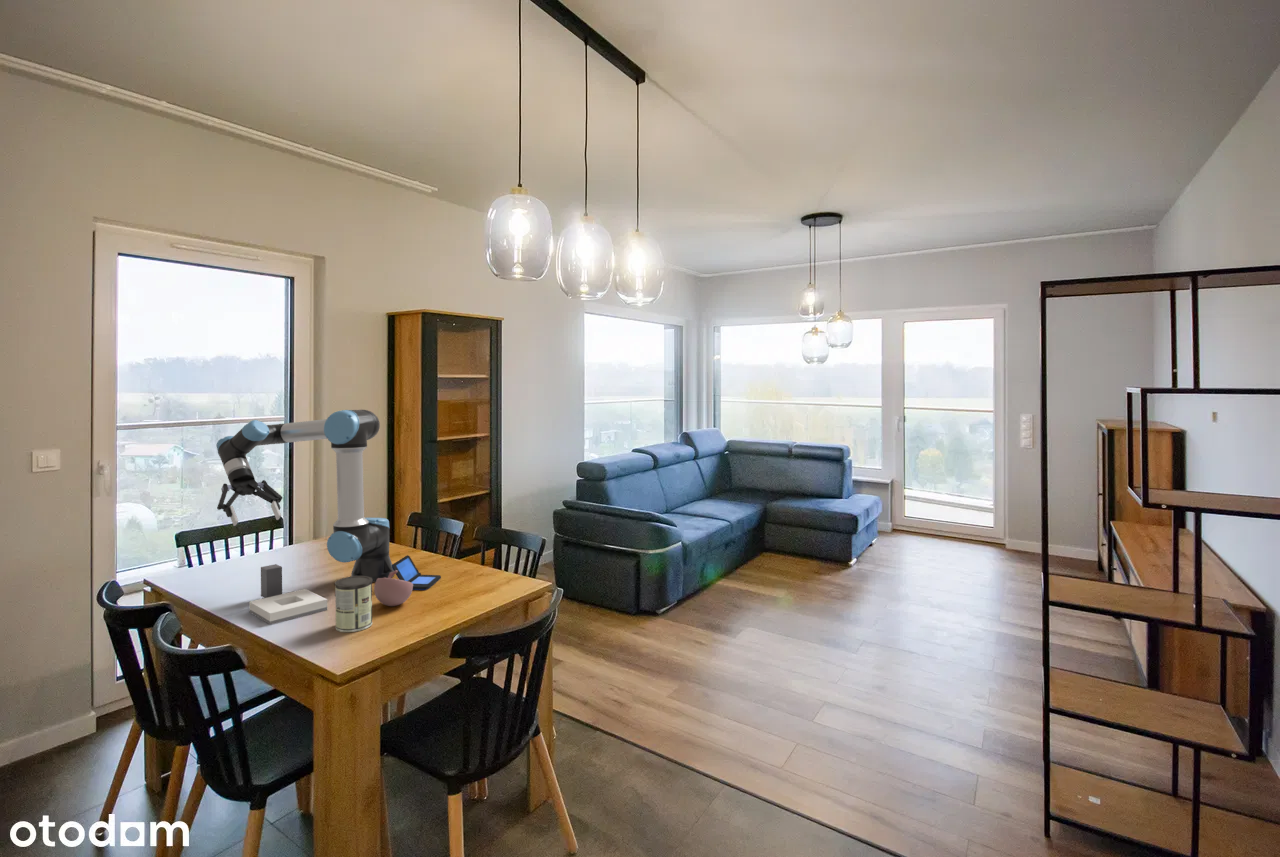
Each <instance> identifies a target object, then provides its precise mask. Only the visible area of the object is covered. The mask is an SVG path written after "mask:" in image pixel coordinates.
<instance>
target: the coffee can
mask: <svg viewBox="0 0 1280 857" xmlns="http://www.w3.org/2000/svg"><path fill="white" fill-rule="evenodd" d="M334 589H335V593H334V594H335V595H334V596H335V597H334V598H335V599H334V601H335V630H336V631H337V632H339V633H355V632H360V631H363V630H367V629H369V628H370V627H371V626H372V625H373V582H372V578H371V577H368V576H351V575H350V576H346V577H343V578H340V579H337V580H335V582H334Z"/></svg>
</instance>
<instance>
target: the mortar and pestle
mask: <svg viewBox="0 0 1280 857" xmlns="http://www.w3.org/2000/svg"><path fill="white" fill-rule="evenodd" d="M397 572H398V571H397V570H395V571H393V572H391V573H390V574H389V576H388V578H378V579H377V580H376V582H374V587H373V588H374V590H373V591H374V595H375V598H376V599H377V600H378V602H380V603H381V604H382V605H384V606H388V607H396V606H399V605H402V604H404V603H405V602H406V601H407V600H409V598H410V597H411V594H412V592H413V590H412V589H413V583H411V582H408V581H404V580H399V578H393V577H394V576H395V575H396V573H397ZM393 575H394V576H393ZM392 576H393V577H392Z"/></svg>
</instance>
